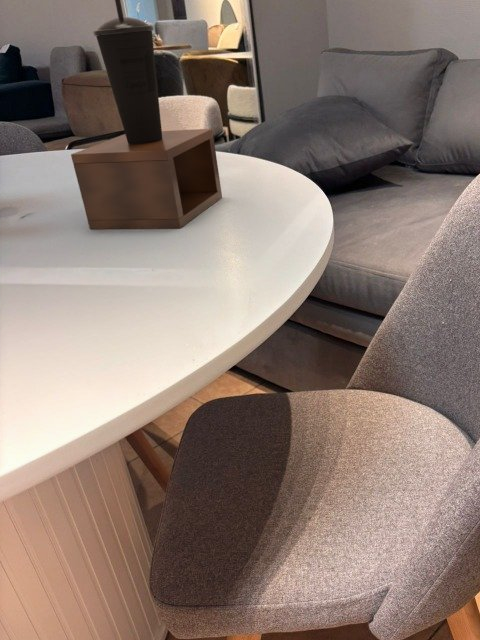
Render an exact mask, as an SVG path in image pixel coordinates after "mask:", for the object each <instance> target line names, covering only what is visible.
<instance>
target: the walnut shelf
mask: <svg viewBox="0 0 480 640" xmlns="http://www.w3.org/2000/svg"><path fill="white" fill-rule="evenodd" d="M70 157H71V160H72V164H73V168H74V169H73V170H74V172H75V176H76V181H77V183H78V184H77V185H78V188H79V193H80V196H81V201H82V204H83V207H84V212H85V215H86V219H87V223H88V224H87V225H88V227H89V229H90V230H116V229H117V230H119V229H120V230H123V229H128V230H129V229H134V230H135V229H141V230H142V229H181V228H183V227H184V226H186V225H187V224H188V223H190V222H191V221H192V220H193V218H194V219H195V218H197V217H198V216H199V215H201V214H202V213H203V212H204V211H206V210H207V209H208V208H210V207H212V205H214V204H215V203H217V202H218V201H219V200H220V199H222V198H223V193H222V186H221V180H220V179H221V178H220V172H219V165H218V159H217V150H216V145H215V137H214V132H213V128H196V129H195V128H194V129H176V130H162V139H161V140H159V141H155V142H150V143H142V144H129V143H128V141H127V138H126V135H125V133H124V134H121V135H119V136H116V137H113V138H111V139H108V140H105V141H103V142H100V143H97V144H95V145H92V146H90V147H87V148H84V149H82V150H79V151H76V152H74V153H72V154H70ZM190 220H191V221H190ZM189 221H190V222H189ZM182 226H183V227H182Z"/></svg>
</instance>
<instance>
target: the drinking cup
mask: <svg viewBox="0 0 480 640" xmlns="http://www.w3.org/2000/svg"><path fill="white" fill-rule="evenodd" d="M114 2H115V3H114V4H115V9H116V13H117V17H115V18H112V19H110V20H107V21H105V22H104V23H102V24H101V25H100V26H99V27H98V28H97V29H96V30H93V32H92V33H93V36H94V37H96V40H97V43H98V47H99V50H100V54H101V56H102V60H103V64H104V67H105V71H106V73H107V77H108V81H109V84H110V87H111V91H112V94H113V97H114V101H115V104H116V108H117V111H118V114H119V118H120V122H121V124H122V127H123V131H124V134H125V135H126V138H127V141H128V143H129V144H142V143H150V142H155V141H159V140H161V139H162V131H163V130H162V119H161V111H160V109H161V108H160V101H159V91H158V80H157V69H156V60H155V50H154V40H153V31H154V25H152V24H148V23H147V22H145V21H143V20H141V19H138V18H135V17H130V16H129V17H128V16H124V12H123V11H124V10H123V6H122V1H121V0H114Z"/></svg>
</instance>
